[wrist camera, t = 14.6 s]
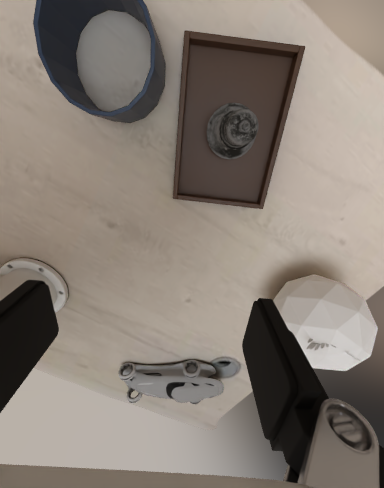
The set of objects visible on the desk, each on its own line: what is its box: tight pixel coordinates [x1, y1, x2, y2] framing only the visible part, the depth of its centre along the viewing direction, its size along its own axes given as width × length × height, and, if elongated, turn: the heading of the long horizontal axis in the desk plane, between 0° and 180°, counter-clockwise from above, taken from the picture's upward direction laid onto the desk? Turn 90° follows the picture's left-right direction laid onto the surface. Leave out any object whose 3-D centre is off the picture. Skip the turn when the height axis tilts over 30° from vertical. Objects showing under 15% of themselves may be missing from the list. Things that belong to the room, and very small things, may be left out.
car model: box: [119, 360, 224, 404], centre depth 48 cm, size 11×24×5 cm, turn 94°
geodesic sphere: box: [273, 274, 378, 371], centre depth 32 cm, size 15×14×14 cm
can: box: [33, 0, 166, 123], centre depth 22 cm, size 11×11×6 cm
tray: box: [173, 31, 305, 209], centre depth 27 cm, size 13×18×2 cm
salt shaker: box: [207, 103, 258, 159], centre depth 22 cm, size 6×6×12 cm
